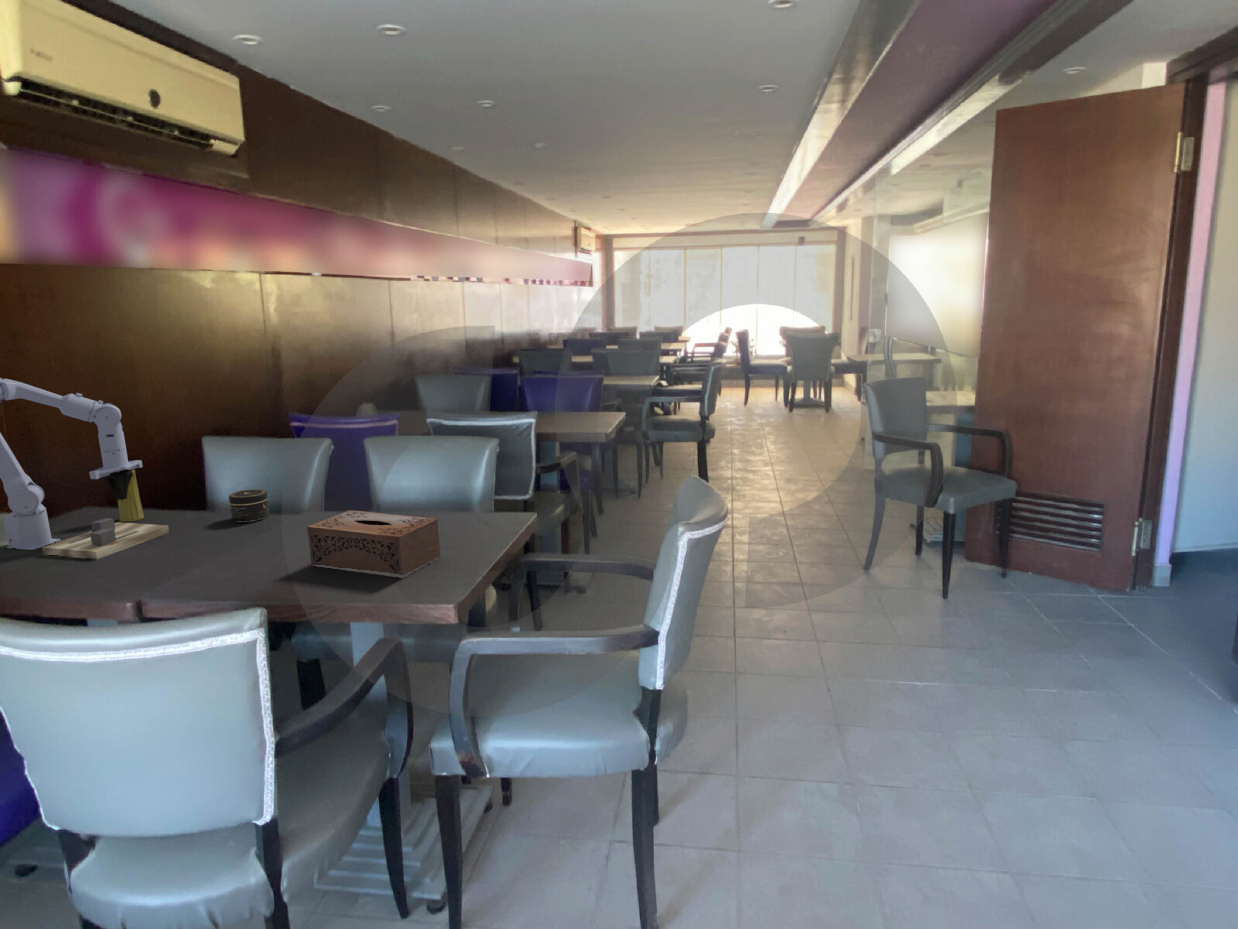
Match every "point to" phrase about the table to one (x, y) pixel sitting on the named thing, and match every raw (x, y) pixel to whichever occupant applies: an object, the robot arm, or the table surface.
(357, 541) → the tissue box cover
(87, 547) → the wooden board
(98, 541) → the outer knob
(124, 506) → the vase
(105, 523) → the inner knob
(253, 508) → the jar
